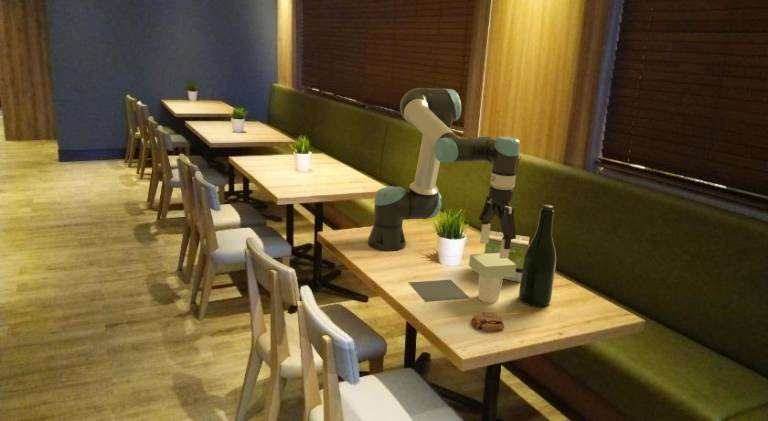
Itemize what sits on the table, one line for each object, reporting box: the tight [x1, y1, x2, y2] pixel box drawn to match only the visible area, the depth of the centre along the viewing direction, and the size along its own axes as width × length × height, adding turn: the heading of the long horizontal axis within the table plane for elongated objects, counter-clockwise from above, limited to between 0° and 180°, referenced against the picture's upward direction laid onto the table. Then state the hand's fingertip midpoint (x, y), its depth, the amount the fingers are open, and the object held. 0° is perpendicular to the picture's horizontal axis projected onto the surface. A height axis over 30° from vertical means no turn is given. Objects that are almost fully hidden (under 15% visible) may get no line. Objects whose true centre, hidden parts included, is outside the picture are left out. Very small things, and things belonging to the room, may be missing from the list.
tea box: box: [483, 230, 530, 283], centre depth 222 cm, size 15×10×15 cm, turn 74°
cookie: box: [470, 311, 505, 333], centre depth 183 cm, size 10×11×3 cm
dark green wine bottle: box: [518, 204, 557, 308], centre depth 199 cm, size 10×10×33 cm
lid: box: [468, 253, 516, 279], centre depth 199 cm, size 11×11×4 cm
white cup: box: [477, 274, 504, 304], centre depth 201 cm, size 8×8×10 cm
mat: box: [407, 279, 471, 303], centre depth 206 cm, size 16×16×1 cm
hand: (493, 250), depth 198 cm, fingers open, 13 cm apart
